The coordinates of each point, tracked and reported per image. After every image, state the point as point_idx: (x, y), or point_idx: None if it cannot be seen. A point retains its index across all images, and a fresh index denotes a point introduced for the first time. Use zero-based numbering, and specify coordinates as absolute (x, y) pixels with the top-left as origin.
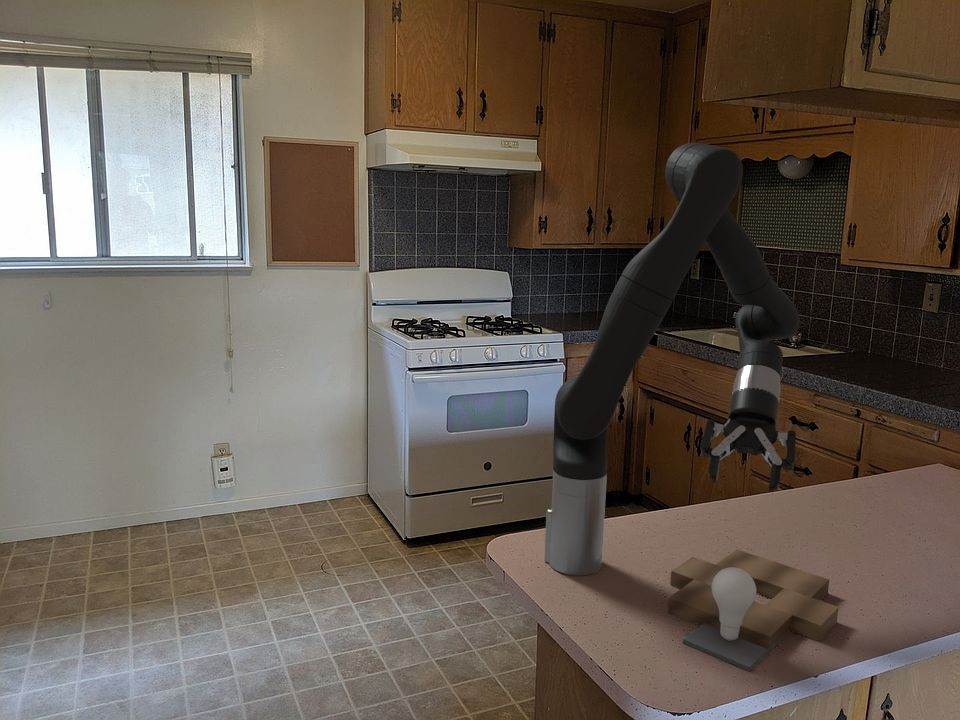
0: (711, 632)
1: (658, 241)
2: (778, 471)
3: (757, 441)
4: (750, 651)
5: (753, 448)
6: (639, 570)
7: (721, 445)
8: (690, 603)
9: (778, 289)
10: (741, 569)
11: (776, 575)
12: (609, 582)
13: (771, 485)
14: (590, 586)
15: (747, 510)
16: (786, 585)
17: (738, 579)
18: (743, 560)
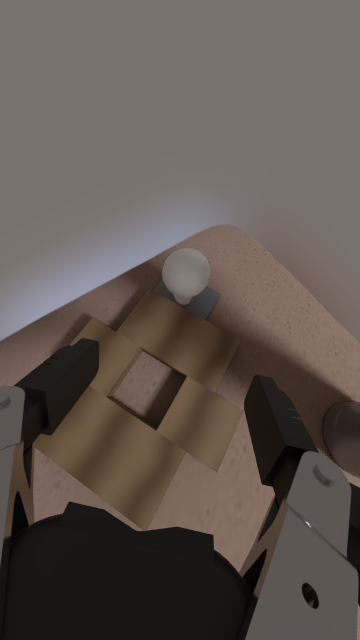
0: (196, 309)
1: None
2: (32, 378)
3: (21, 626)
4: (166, 287)
5: (97, 512)
6: None
7: (326, 536)
8: (218, 332)
9: None
10: (180, 264)
11: (105, 436)
12: (303, 396)
13: (90, 340)
14: (319, 381)
15: None
16: (100, 406)
17: (185, 249)
18: (142, 481)
